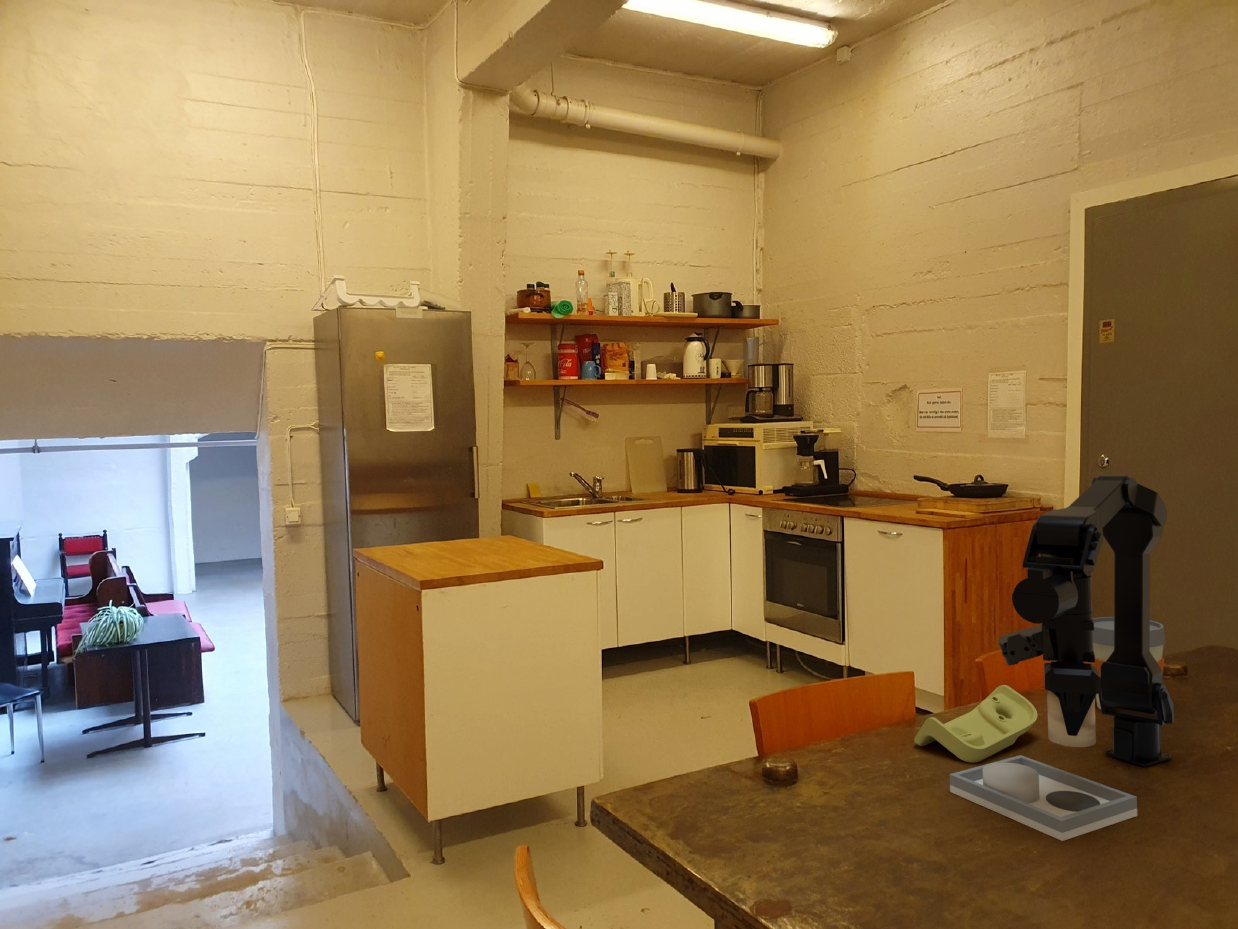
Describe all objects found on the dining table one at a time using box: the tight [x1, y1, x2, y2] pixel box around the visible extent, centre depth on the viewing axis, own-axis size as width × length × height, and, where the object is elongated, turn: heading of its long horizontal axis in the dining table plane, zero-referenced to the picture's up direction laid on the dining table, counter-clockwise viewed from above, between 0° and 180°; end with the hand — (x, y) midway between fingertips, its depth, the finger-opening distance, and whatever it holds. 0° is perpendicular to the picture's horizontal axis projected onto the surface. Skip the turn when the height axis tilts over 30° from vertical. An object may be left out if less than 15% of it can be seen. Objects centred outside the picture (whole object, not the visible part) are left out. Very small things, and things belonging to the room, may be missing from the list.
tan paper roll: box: [1046, 690, 1097, 748], centre depth 120 cm, size 6×6×6 cm
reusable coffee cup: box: [1087, 616, 1167, 710], centre depth 160 cm, size 13×13×15 cm
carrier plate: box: [949, 754, 1138, 842], centre depth 122 cm, size 14×18×4 cm
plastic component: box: [913, 684, 1038, 764], centre depth 147 cm, size 20×7×10 cm
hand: (1071, 728), depth 120 cm, fingers closed on tan paper roll, 6 cm apart
